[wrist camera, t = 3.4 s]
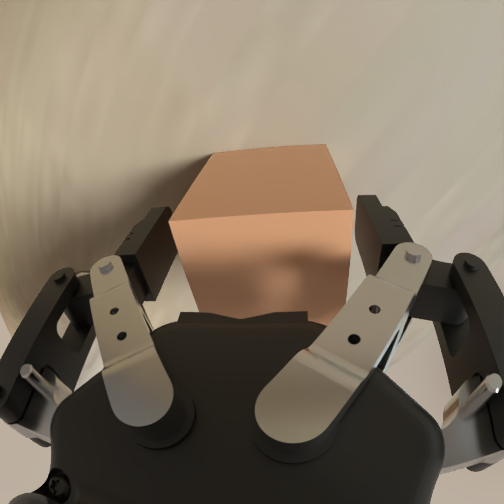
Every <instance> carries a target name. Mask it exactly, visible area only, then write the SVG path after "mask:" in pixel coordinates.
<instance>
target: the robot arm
mask: <svg viewBox="0 0 504 504" xmlns="http://www.w3.org/2000/svg"><path fill="white" fill-rule="evenodd" d="M171 216H172V211H171V209H170V208H169V207H160V208H152V209H151V211H150V212H149V213H148V215H147V216H146V217H145V219H144V220H142V221H141V222H139V223H138V224H137V225H136V226H134V228H133V229H132V230H131V232H130V234H129V235H128V236H127V237H126V240H124V242H123V243H122V244H121V246H120V247H119V249H118V250H117V252H116V253H115V254H114V255H111V256H107V257H104V258H102V259H100V260H99V261H97V262H96V263H95V264H94V265H93V266H92V268H91V270H90V274H86V275H82V276H79V277H77V275H76V273H75V272H74V270H73V269H72V268H63V269H61V270H59V271H57V272H56V273H54V274H53V275H52V276H51V277H50V278H49V280H48V281H47V283H46V284H45V286H44V287H43V289H42V290H41V292H40V293H39V295H38V296H37V298H36V299H35V301H34V302H33V304H32V305H31V307H30V309H29V310H28V312H27V313H26V315H25V317H24V318H23V320H22V322H21V323H20V325H19V327H18V328H17V330H16V332H15V334H14V335H13V337H12V339H11V341H10V343H9V344H8V346H7V348H6V350H5V352H4V354H3V356H2V358H1V359H0V418H1V419H3V421H4V422H5V423H6V424H8V425H9V426H10V427H12V428H13V429H15V430H16V431H17V432H19V433H20V434H22V435H23V436H25V437H26V438H29V439H31V440H32V441H34V442H35V443H37V444H39V445H40V446H42V447H49V446H51V466H50V473H49V475H48V478H47V480H46V481H45V483H44V484H43V485H42V486H41V487H40V488H38V489H37V490H35V491H34V492H31V493H24V494H21V495H19V496H17V497H15V498H13V499H12V500H11V501H10V503H9V504H430V501H431V497H432V493H433V490H434V487H435V484H436V481H437V478H438V476H439V474H443V473H447V472H451V471H455V470H458V469H462V468H465V467H466V468H467V469H468V470H470V471H474V472H477V471H482V470H484V469H486V468H487V467H489V466H491V465H493V464H495V463H497V462H498V461H500V460H502V459H503V458H504V296H503V294H502V292H501V290H500V288H499V286H498V285H497V283H496V281H495V279H494V278H493V276H492V274H491V272H490V271H489V269H488V267H487V266H486V264H485V263H484V262H483V261H482V260H481V259H480V258H479V257H477V256H475V255H473V254H470V253H459V254H457V255H456V256H455V257H454V260H453V263H452V264H451V263H445V262H440V261H435V260H432V255H431V253H430V252H429V250H427V249H426V248H425V247H423V246H422V245H419V244H416V243H414V242H413V240H412V238H411V237H410V235H409V233H408V231H407V230H406V228H405V227H404V224H403V223H402V221H400V218H399V216H398V215H397V213H396V212H395V211H394V210H392V209H391V208H389V207H388V206H382V205H381V203H380V202H379V200H378V198H377V196H376V195H358V197H357V206H356V221H355V239H356V244H357V247H358V250H359V253H360V256H361V259H362V262H363V266H364V269H365V272H366V276H367V277H366V278H365V279H364V281H363V282H362V283H361V285H360V286H359V287H358V289H357V290H356V291H355V292H354V294H353V295H352V296H351V298H350V299H349V300H348V301H347V303H346V304H345V305H344V306H343V308H342V309H341V310H340V311H339V313H338V314H337V315H336V316H335V318H334V319H333V320H332V321H331V322H330V324H329V325H328V326H326V325H323V324H320V323H317V322H313V321H308V311H294V312H273V313H268V314H264V315H259V316H254V317H249V318H244V319H237V318H232V317H228V316H223V315H218V314H214V313H206V312H181V313H180V315H179V318H178V321H177V322H173V323H169V324H166V325H164V326H161V327H159V328H157V329H155V330H154V329H153V327H152V324H151V322H150V320H149V318H148V315H147V313H146V311H145V309H144V307H143V305H142V304H143V302H144V301H156V298H157V296H158V294H159V291H160V289H161V287H162V285H163V283H164V280H165V278H166V276H167V274H168V272H169V269H170V267H171V265H172V263H173V261H174V259H175V256H176V254H177V252H178V250H177V247H176V244H175V241H174V238H173V234H172V231H171V228H170V225H169V222H168V221H169V220H170V218H171ZM63 312H64V313H65V315H66V316H67V318H68V319H69V320H70V323H69V325H68V327H67V329H66V331H65V333H64V335H63V337H62V339H61V337H60V336H59V334H58V332H57V323H58V321H59V319H60V317H61V316H62V314H63ZM413 318H419V319H424V320H430V321H433V324H434V327H435V330H436V334H437V337H438V341H439V344H440V348H441V352H442V355H443V359H444V363H445V367H446V371H447V375H448V380H449V384H450V389H451V394H452V398H451V399H450V400H449V401H448V402H447V404H446V406H445V408H444V412H443V425H442V428H441V429H440V427H439V425H438V423H437V422H436V420H435V419H434V418H433V417H432V416H431V415H430V414H429V413H428V412H427V411H426V410H425V409H424V408H422V407H421V406H420V405H419V404H418V403H417V402H416V401H415V400H414V399H412V398H411V397H410V396H409V395H408V394H407V393H406V392H405V391H403V389H401V388H400V387H399V386H398V385H397V384H396V383H395V382H394V381H393V380H391V379H390V378H389V377H388V376H387V375H386V374H385V373H384V372H385V371H386V369H387V367H388V365H389V363H390V361H391V359H392V357H393V355H394V353H395V351H396V350H397V348H398V346H399V344H400V342H401V340H402V339H403V337H404V335H405V333H406V331H407V329H408V327H409V325H410V323H411V321H412V319H413ZM96 337H97V341H98V345H99V349H100V354H101V358H102V361H103V366H104V368H103V369H102V370H101V371H100V372H99V373H97V374H96V375H95V376H93V377H92V378H91V379H89V380H88V381H87V382H86V383H84V384H83V385H82V386H80V387H79V388H78V389H77V390H75V391H74V389H75V387H76V384H77V381H78V379H79V376H80V374H81V371H82V369H83V366H84V364H85V361H86V359H87V356H88V354H89V352H90V349H91V347H92V344H93V342H94V340H95V338H96Z"/></svg>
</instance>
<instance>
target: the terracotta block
mask: <svg viewBox="0 0 504 504" xmlns="http://www.w3.org/2000/svg"><path fill="white" fill-rule="evenodd" d="M168 222H169V225H170V228H171V231H172V234H173V238H174V241H175V244H176V247H177V250H178V253H179V256H180V259H181V262H182V265H183V268H184V270H185V273H186V276H187V279H188V282H189V285H190V288H191V290H192V293H193V296H194V299H195V301H196V304H197V307H198V310H199V312H206V313H214V314H218V315H223V316H228V317H232V318H237V319H244V318H249V317H254V316H259V315H264V314H268V313H273V312H294V311H308V321H313V322H317V323H320V324H323V325H326V326H328V325H329V324H330V322H331V321H332V320H333V319H334V318H335V316H336V315H337V314H338V313H339V311H340V310H341V309H342V308H343V306H344V305H345V303H346V295H347V286H348V277H349V266H350V255H351V242H352V228H353V207H352V205H351V202H350V200H349V197H348V195H347V192H346V190H345V187H344V185H343V182H342V180H341V178H340V175H339V173H338V171H337V168H336V166H335V164H334V162H333V159H332V157H331V155H330V153H329V150H328V148H327V146H326V144H320V145H298V146H282V147H269V148H257V149H247V150H237V151H228V152H220V153H213V154H212V156H211V157H210V158H209V160H208V161H207V163H206V164H205V166H204V167H203V169H202V170H201V172H200V173H199V175H198V176H197V178H196V179H195V181H194V182H193V184H192V185H191V187H190V188H189V190H188V191H187V193H186V194H185V196H184V197H183V199H182V200H181V202H180V204H179V205H178V207H177V208H176V210H175V212H174V213H173V215H172V216H171V218H170V220H169V221H168Z"/></svg>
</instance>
